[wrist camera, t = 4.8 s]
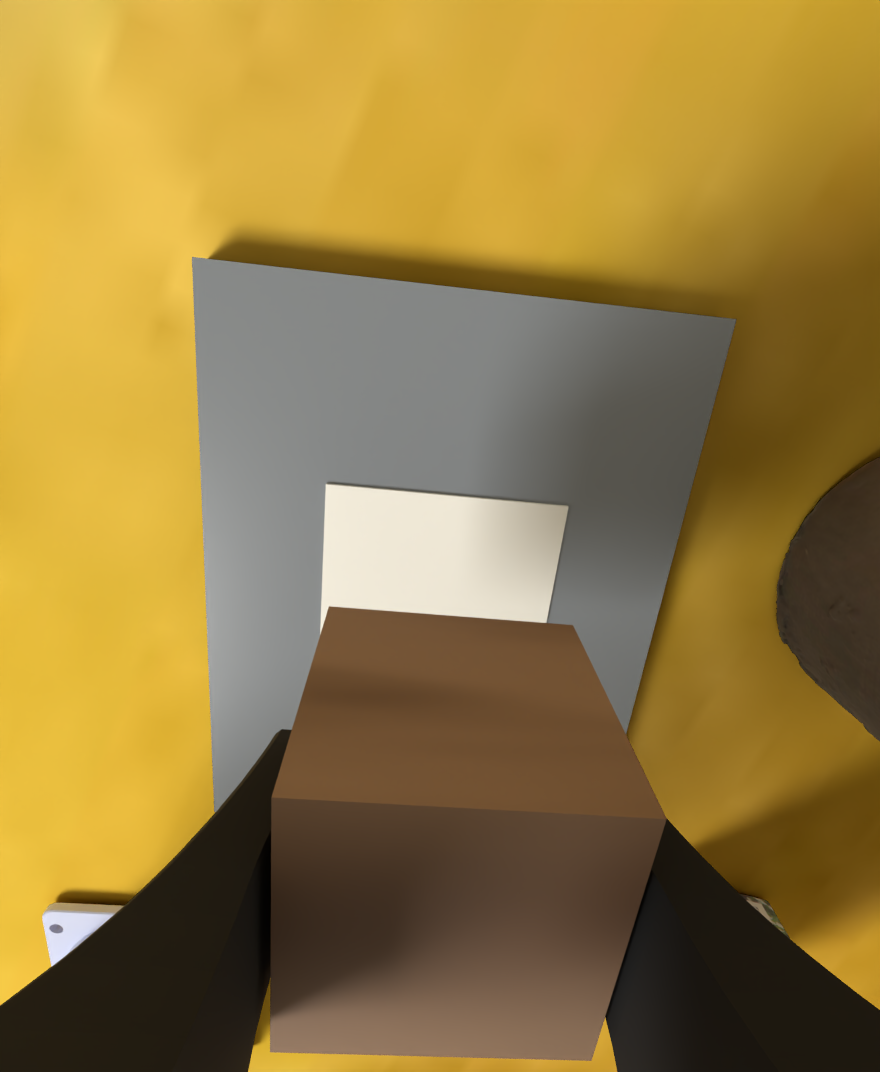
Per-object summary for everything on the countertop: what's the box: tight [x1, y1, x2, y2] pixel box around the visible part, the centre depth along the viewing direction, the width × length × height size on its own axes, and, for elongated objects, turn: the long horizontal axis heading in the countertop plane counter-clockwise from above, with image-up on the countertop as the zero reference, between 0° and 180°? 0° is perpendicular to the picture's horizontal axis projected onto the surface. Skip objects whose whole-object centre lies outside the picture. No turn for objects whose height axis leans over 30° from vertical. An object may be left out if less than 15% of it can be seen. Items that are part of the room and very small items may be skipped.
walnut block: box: [270, 606, 667, 1061], centre depth 11 cm, size 5×5×5 cm
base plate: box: [192, 257, 736, 812], centre depth 19 cm, size 18×14×1 cm
